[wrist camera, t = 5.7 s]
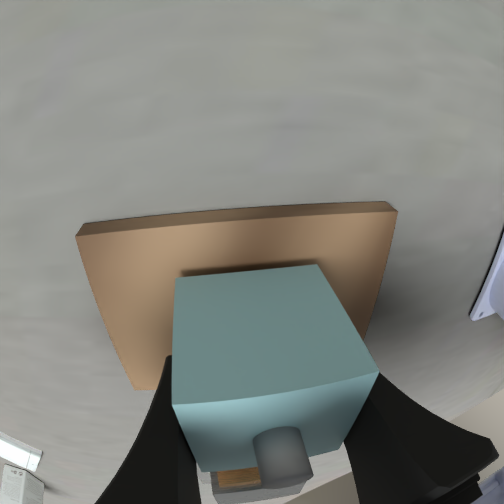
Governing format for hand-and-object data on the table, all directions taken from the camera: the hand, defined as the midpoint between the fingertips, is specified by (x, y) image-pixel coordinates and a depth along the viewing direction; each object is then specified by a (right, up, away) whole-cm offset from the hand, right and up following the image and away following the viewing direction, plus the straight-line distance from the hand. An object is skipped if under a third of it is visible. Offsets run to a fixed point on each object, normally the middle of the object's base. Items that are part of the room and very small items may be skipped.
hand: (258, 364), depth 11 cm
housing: (0, +1, +1) cm, 2 cm away
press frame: (-1, -4, +6) cm, 7 cm away
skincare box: (-32, -27, +14) cm, 44 cm away
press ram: (0, -10, +9) cm, 14 cm away
